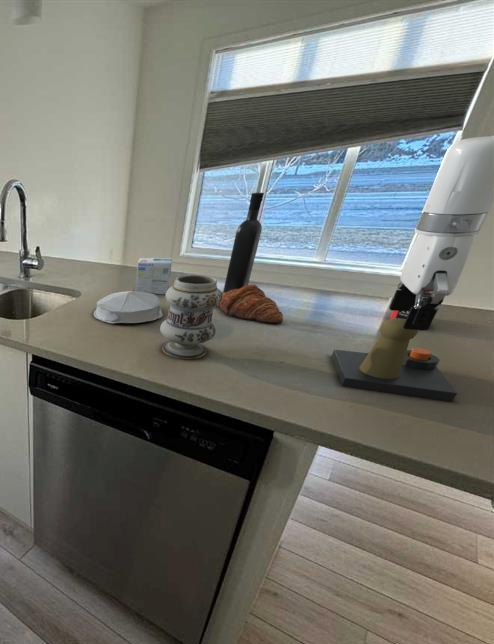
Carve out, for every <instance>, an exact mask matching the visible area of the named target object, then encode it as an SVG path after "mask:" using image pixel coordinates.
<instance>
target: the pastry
mask: <svg viewBox="0 0 494 644" xmlns="http://www.w3.org/2000/svg"><path fill="white" fill-rule="evenodd" d="M221 293H222V300H221V302H220V303H219V304H218V305H216V306H215V307H216V308H218V309H220V310H221V311H222V312H223V313H225V315H226V316H230V317H235V318H238V319H242V320H248V321H256V322H259V323H264V324H271V325H272V324H274V325H275V324H282V323H283V321H284V313H282V311H281V310H280V309H279V307H278V305H277V303H276V302H275V301H274V300H273V299H272V298H270V297H268V296H266V293H265V292H264V291H263V289H261V288H260V287H258V286H257V285H256V284H248V286H244V287H242V288H240V289H233V290H230V291H228V292H226V293H224V292H223V291H221Z"/></svg>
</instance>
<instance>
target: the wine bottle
mask: <svg viewBox="0 0 494 644" xmlns="http://www.w3.org/2000/svg"><path fill="white" fill-rule="evenodd" d="M250 195H251V196H250V199H249V206H248V210H247V216H246V219H245V220H244V221H243V222H241V223H240V225H239V226H238V228H237V230H236V233H235V237H234V240H233V246H232V250H231V254H230V260H229V263H228V268H227V273H226V278H225V282H224V287H223V290H222V292H224V293H226V292H228V291H230V290H233V289H240V288H242V287H244V286H248V285H249V284H250V283H249V282H250V279H251V275H252V271H253V266H254V263H255V259H256V255H257V250H258V247H259V243H260V238H261V236H262V235H261V234H262V229H263V226H262V223H261V222H260V220H258V217H259V214H260V209H261V205H262V202H263V198H264V195H265V192H253V193H251V194H250Z"/></svg>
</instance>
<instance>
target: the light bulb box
mask: <svg viewBox="0 0 494 644" xmlns="http://www.w3.org/2000/svg"><path fill="white" fill-rule="evenodd" d="M172 266H173V257H166V258H165V257H140V258H139V259H138V261H137V265H136V274H135V275H136V276H135V283H134V291H137V292H145V293H150V294H154V295H166V292H167V290H168V289H169V288H170V287H169V286H170V279H171V271H172Z"/></svg>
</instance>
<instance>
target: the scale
mask: <svg viewBox="0 0 494 644" xmlns="http://www.w3.org/2000/svg"><path fill="white" fill-rule="evenodd" d="M411 351H412V349H407V351H406V355H405V358H404V361H403V365H402V368H401V372H400V375H399V377H398V378H395V379H383V378H377V377H373V376H370V375H368V374H365V373H363V372H362V371H361V370H360V366H361V364H362V363H363V361H364V360H365V358H366V357H367V355H368V354H369V352H361V351H360V352H359V351H352V350H343V349H333V352H332V354H331V360H332V362H333V366H334V368H335V371H336V374H337V376H338V379H339V381H340V384H341V387H347V388H353V389H354V388H355V389H359V390H367V391H375V392H383V393H387V394H388V393H389V394H395V395H404V396H409V397H417V398H422V399H431V400H437V401H443V402H445V401H446V402H450V403H452V402H453V401H454V400H455V398H456V396H457V395H458V392H457V391H456V389H454V387H453V386H452V385H451V383H450V382H449V381H448V380H447V378H446V377H445V375H444V374H443V373H442V372H441V371H440V369H439V368H438V367H437V366H438V364H439V362H440V358H439V357H438V356H436V355H434V354H432V353H431V355H430V357H429V359H428V360H419V359H415V358H412V357H410V356H409V355H410V353H411Z"/></svg>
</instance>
